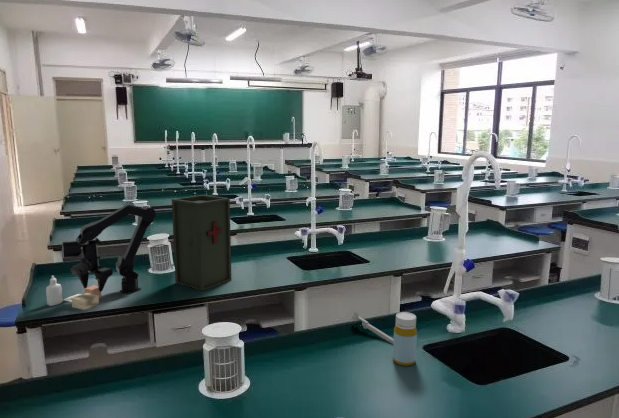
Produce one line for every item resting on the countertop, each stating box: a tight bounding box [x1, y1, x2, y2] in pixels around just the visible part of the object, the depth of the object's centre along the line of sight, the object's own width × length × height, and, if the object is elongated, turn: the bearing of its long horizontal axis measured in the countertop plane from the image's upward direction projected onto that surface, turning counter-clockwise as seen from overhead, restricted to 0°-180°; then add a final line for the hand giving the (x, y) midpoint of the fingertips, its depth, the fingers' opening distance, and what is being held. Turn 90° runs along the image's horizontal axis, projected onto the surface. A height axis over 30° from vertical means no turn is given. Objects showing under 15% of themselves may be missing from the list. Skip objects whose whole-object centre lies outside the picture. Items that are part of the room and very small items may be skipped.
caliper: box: [350, 311, 394, 345], centre depth 162 cm, size 20×1×6 cm, turn 43°
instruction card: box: [63, 293, 83, 303], centre depth 196 cm, size 8×6×1 cm
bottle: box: [392, 311, 418, 367], centre depth 143 cm, size 7×7×15 cm
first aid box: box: [171, 194, 232, 292], centre depth 214 cm, size 18×18×40 cm
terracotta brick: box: [83, 284, 102, 298], centre depth 196 cm, size 4×4×4 cm
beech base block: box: [71, 292, 100, 311], centre depth 187 cm, size 7×7×4 cm
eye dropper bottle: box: [45, 275, 64, 307], centre depth 188 cm, size 4×6×12 cm
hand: (93, 289), depth 196 cm, fingers open, 9 cm apart
